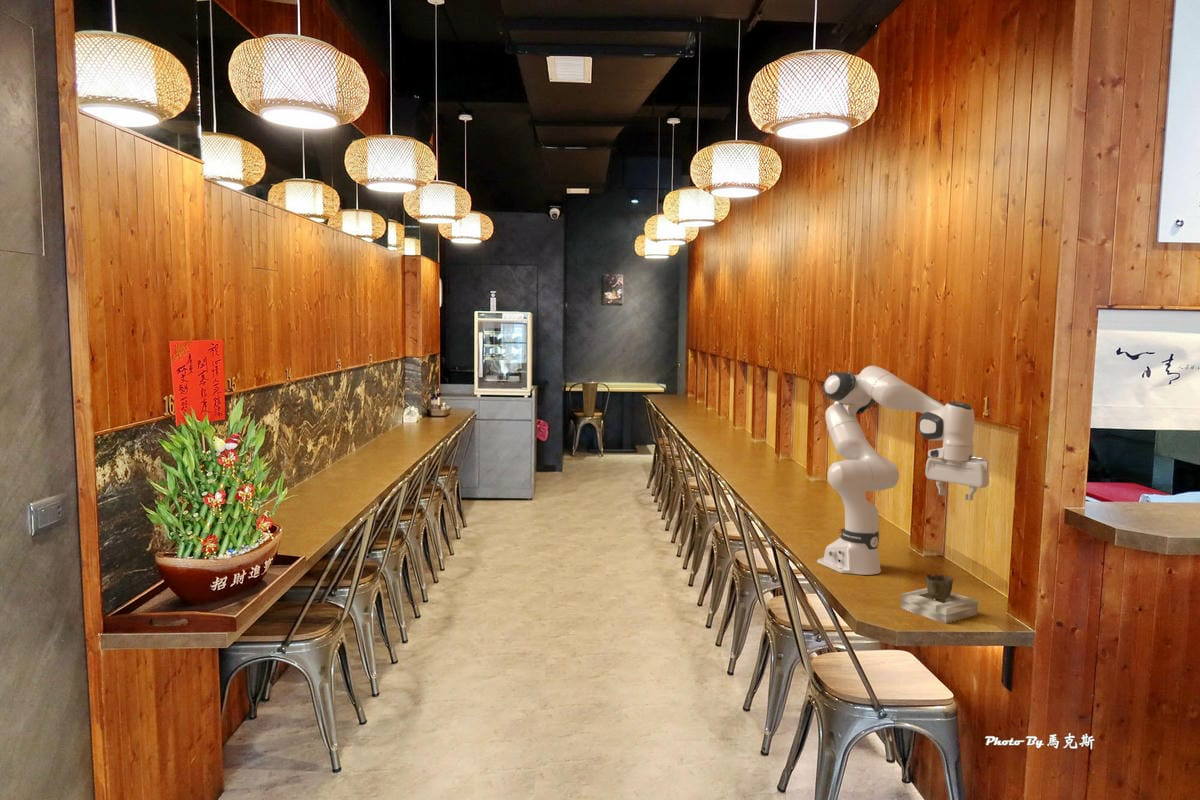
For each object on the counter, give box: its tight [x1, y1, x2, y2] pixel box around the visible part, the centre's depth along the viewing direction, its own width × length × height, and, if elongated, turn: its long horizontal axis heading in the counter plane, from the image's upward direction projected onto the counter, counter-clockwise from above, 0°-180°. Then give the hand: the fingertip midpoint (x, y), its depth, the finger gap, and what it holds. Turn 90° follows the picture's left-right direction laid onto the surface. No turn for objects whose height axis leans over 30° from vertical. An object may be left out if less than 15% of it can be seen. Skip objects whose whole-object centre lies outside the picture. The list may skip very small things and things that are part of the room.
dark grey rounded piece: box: [925, 573, 954, 603], centre depth 232 cm, size 8×7×8 cm
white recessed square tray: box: [900, 587, 979, 624], centre depth 232 cm, size 15×15×5 cm
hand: (955, 497), depth 248 cm, fingers open, 8 cm apart
